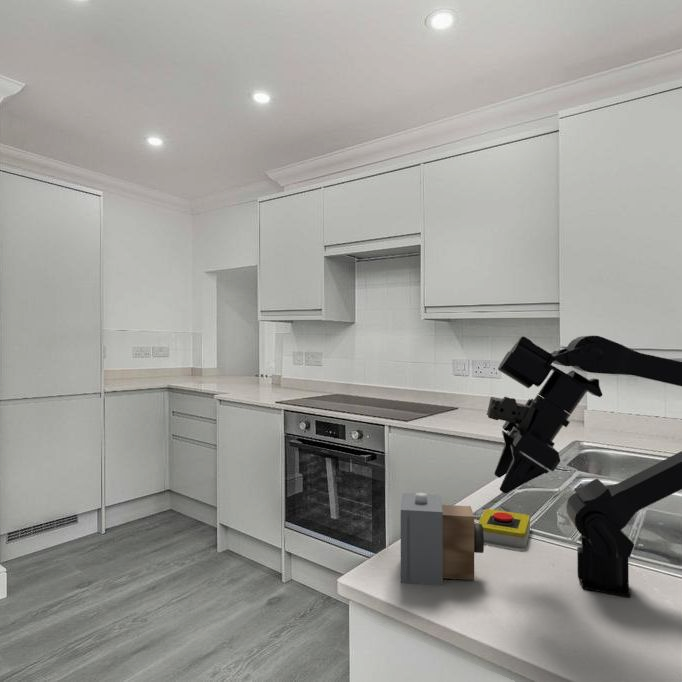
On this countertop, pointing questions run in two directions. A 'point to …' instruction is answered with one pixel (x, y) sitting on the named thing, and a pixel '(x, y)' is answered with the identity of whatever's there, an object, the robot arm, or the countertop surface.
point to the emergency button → (505, 529)
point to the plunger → (460, 542)
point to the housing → (421, 539)
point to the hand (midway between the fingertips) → (499, 483)
